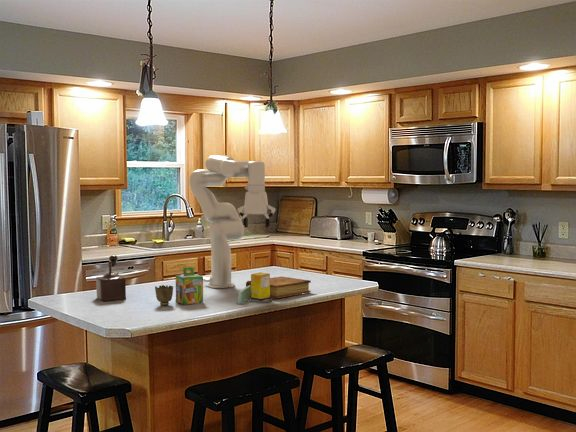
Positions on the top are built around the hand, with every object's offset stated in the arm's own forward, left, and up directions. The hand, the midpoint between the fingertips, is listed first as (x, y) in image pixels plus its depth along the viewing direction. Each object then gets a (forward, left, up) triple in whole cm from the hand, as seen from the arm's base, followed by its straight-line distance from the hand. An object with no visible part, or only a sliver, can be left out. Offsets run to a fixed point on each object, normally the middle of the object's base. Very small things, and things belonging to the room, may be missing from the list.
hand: (256, 227), depth 286 cm
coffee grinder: (-62, -18, -31) cm, 71 cm away
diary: (+9, +4, -30) cm, 32 cm away
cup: (-32, -30, -31) cm, 53 cm away
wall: (-2, -14, -30) cm, 33 cm away
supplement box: (+5, -13, -30) cm, 33 cm away
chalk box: (-24, -22, -31) cm, 45 cm away
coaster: (+5, -13, -30) cm, 33 cm away
